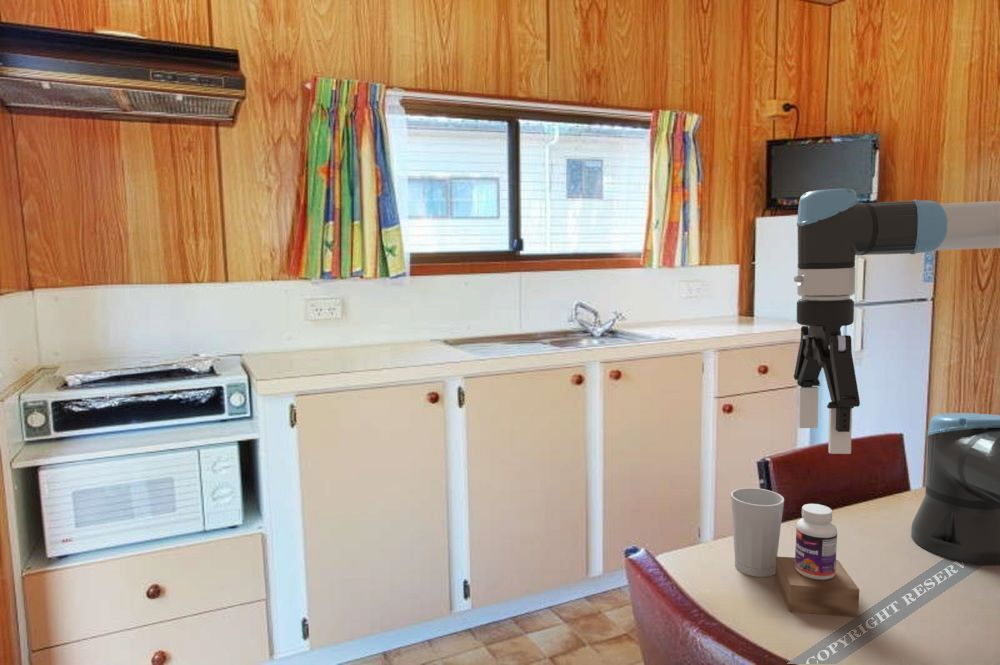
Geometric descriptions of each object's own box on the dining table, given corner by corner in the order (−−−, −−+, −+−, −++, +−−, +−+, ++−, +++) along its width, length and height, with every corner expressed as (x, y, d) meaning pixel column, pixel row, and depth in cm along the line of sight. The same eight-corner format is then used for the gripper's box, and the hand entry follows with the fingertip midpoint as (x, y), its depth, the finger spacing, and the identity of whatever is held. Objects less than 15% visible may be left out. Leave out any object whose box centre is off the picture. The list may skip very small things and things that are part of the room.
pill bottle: (786, 568, 98) (788, 505, 97) (812, 560, 100) (815, 499, 99) (816, 584, 93) (819, 518, 92) (843, 576, 95) (846, 511, 94)
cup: (787, 581, 102) (789, 507, 100) (733, 577, 103) (734, 504, 102) (776, 558, 110) (778, 489, 108) (726, 554, 111) (727, 486, 110)
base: (837, 584, 100) (838, 560, 100) (858, 616, 92) (859, 589, 91) (775, 580, 102) (775, 556, 102) (789, 611, 93) (790, 585, 93)
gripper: (774, 293, 108) (773, 418, 111) (828, 305, 84) (825, 465, 86) (822, 292, 107) (820, 418, 110) (891, 303, 83) (886, 466, 85)
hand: (822, 439), depth 98 cm, fingers open, 13 cm apart
